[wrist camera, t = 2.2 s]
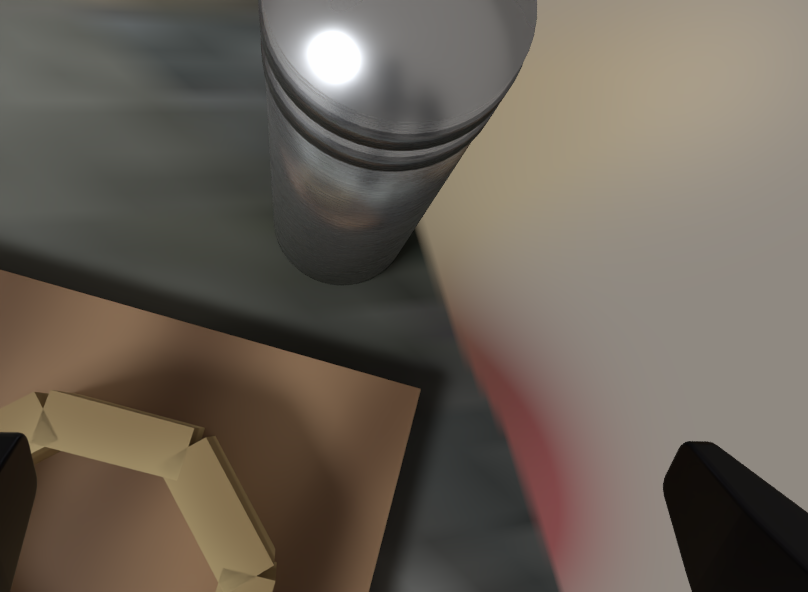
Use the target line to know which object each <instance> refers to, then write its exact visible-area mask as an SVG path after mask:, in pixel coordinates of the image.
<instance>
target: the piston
mask: <svg viewBox="0 0 808 592" xmlns="http://www.w3.org/2000/svg"><path fill="white" fill-rule="evenodd" d="M536 20H537V0H259V21H260V33H261V52H262V63H263V69H264V75H265V78H266V91H267V109H268V126H269V144H270V162H271V179H272V197H273V214H274V228H275V234H276V237H277V240H278V243H279V245H280V247H281V249H282V251H283V253H284V254H285V256H286V257H287V259H288V260H289V261H290V262H291V263H292V264H293V265H294V266H295V267H296V268H297V269H298V270H299V271H301V272H302V273H304V274H305V275H307V276H309V277H311V278H313V279H315V280H317V281H320V282H323V283H327V284H333V285H351V284H357V283H361V282H364V281H367V280H369V279H371V278H373V277H375V276H377V275H378V274H380V273H381V272H383V271H384V270H385V269H386V268H387V267H388V266H389V265H390V264H391V263H392V262H393V261H394V259H395V258H396V256H397V255H398V253H399V252H400V250H401V249H402V247H403V246H404V244H405V243H406V241H407V240H408V238H409V236H410V235H411V233H412V232H413V230H414V229H415V227H416V226H417V224H418V223H419V221H420V220H421V218H422V217H423V215H424V214H425V212H426V210H427V209H428V207H429V206H430V204H431V203H432V201H433V200H434V198H435V197H436V195H437V194H438V192H439V190H440V189H441V188H442V186H443V185H444V183H445V181H446V180H447V178H448V177H449V175H450V174H451V172H452V171H453V169H454V168H455V166H456V165H457V163H458V162H459V160H460V159H461V157H462V155H463V154H464V152H465V151H466V149H467V148H468V146H469V145H470V143H471V142H472V141H473V139H474V138H475V137H476V136H477V135H478V134H479V133H480V132H481V130H482V129H483V128H484V126H485V125H486V123H487V122H488V120H489V119H490V117H491V116H492V114H493V113H494V111H495V110H496V108H497V107H498V105H499V103H500V102H501V101H502V99H503V98H504V96H505V95H506V93H507V92H508V90H509V89H510V87H511V86H512V84H513V83H514V81H515V79H516V77H517V75H518V73H519V71H520V69H521V67H522V64H523V61H524V59H525V57H526V55H527V53H528V51H529V49H530V46H531V43H532V40H533V37H534V32H535V26H536Z"/></svg>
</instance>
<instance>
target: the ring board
mask: <svg viewBox="0 0 808 592" xmlns="http://www.w3.org/2000/svg"><path fill="white" fill-rule="evenodd" d="M420 391H421V389H419V388H415V387H412V386H408V385H405V384H401V383H398V382H394V381H391V380H387V379H384V378H380V377H377V376H373V375H370V374H366V373H363V372H359V371H356V370H352V369H349V368H345V367H341V366H338V365H334V364H331V363H327V362H324V361H320V360H317V359H313V358H310V357H306V356H303V355H299V354H296V353H292V352H289V351H285V350H282V349H278V348H275V347H271V346H268V345H264V344H260V343H257V342H253V341H250V340H246V339H243V338H239V337H236V336H232V335H229V334H225V333H222V332H218V331H215V330H211V329H208V328H204V327H201V326H197V325H194V324H190V323H186V322H183V321H179V320H176V319H172V318H169V317H165V316H162V315H158V314H155V313H151V312H148V311H144V310H141V309H137V308H134V307H130V306H127V305H123V304H120V303H116V302H112V301H109V300H105V299H102V298H98V297H95V296H91V295H88V294H84V293H81V292H77V291H74V290H70V289H67V288H63V287H60V286H56V285H53V284H49V283H46V282H42V281H38V280H35V279H31V278H28V277H24V276H21V275H17V274H14V273H10V272H7V271H3V270H0V432H20V433H23V434H24V435H25V436H26V437H27V439H28V441H29V446H30V450H31V454H32V458H33V462H34V466H35V470H36V474H37V491H36V496H35V500H34V504H33V507H32V511H31V515H30V519H29V523H28V526H27V530H26V534H25V538H24V541H23V545H22V549H21V553H20V557H19V560H18V564H17V568H16V572H15V576H14V579H13V583H12V587H11V591H10V592H369V589H370V585H371V581H372V577H373V573H374V569H375V566H376V562H377V558H378V554H379V550H380V546H381V542H382V538H383V534H384V531H385V527H386V523H387V519H388V515H389V511H390V507H391V503H392V499H393V496H394V492H395V488H396V484H397V480H398V476H399V472H400V468H401V464H402V461H403V457H404V453H405V449H406V445H407V441H408V437H409V433H410V429H411V426H412V422H413V418H414V414H415V410H416V406H417V402H418V398H419V394H420Z"/></svg>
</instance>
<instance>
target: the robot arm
mask: <svg viewBox="0 0 808 592" xmlns="http://www.w3.org/2000/svg"><path fill="white" fill-rule="evenodd" d="M36 491H37V474H36V470H35V466H34V462H33V458H32V454H31V450H30V446H29V441H28V439H27V437H26V436H25V435H24V434H23V433H20V432H0V592H10V591H11V587H12V583H13V579H14V576H15V572H16V568H17V564H18V560H19V557H20V553H21V549H22V545H23V541H24V538H25V534H26V530H27V526H28V523H29V519H30V515H31V511H32V507H33V504H34V500H35V496H36ZM663 492H664V497H665V501H666V504H667V508H668V511H669V515H670V518H671V522H672V525H673V528H674V532H675V535H676V539H677V543H678V546H679V549H680V553H681V557H682V560H683V564H684V567H685V571H686V574H687V577H688V581H689V584H690V587H691V590H692V592H808V513H807V512H806V511H805V510H803V509H802V508H801V507H799V506H798V505H797V504H795V503H794V502H793V501H791V500H790V499H789V498H787V497H786V496H784V495H783V494H782V493H780V492H779V491H778V490H776V489H775V488H774V487H772V486H771V485H770V484H768V483H767V482H766V481H764V480H763V479H762V478H760V477H759V476H758V475H756V474H755V473H754V472H752V471H751V470H750V469H748V468H747V467H746V466H744V465H743V464H741V463H740V462H739V461H737V460H736V459H735V458H733V457H732V456H731V455H729V454H728V453H727V452H725V451H724V450H723V449H721V448H720V447H719V446H717V445H715V444H714V443H711V442H698V441H696V442H695V441H694V442H693V441H692V442H691V441H688V442H685V443H683V445H681V446H680V448H679V449H678V452H677V453H676V455H675V457H674V460H673V462H672V464H671V466H670V468H669V470H668V472H667V474H666V476H665V478H664V483H663Z"/></svg>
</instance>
